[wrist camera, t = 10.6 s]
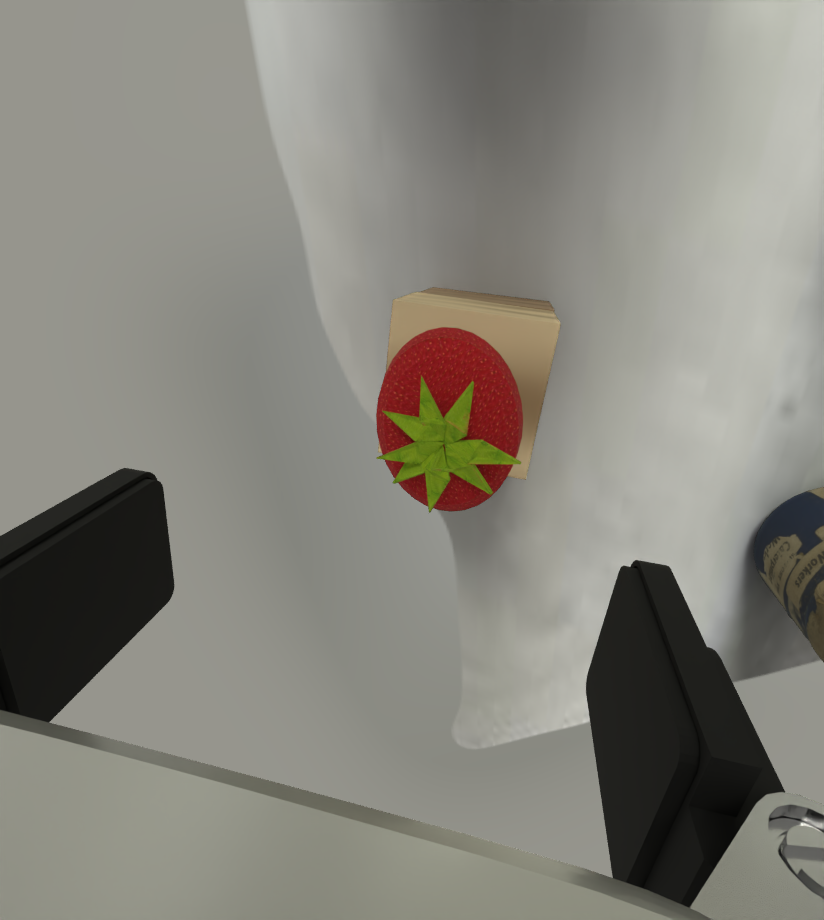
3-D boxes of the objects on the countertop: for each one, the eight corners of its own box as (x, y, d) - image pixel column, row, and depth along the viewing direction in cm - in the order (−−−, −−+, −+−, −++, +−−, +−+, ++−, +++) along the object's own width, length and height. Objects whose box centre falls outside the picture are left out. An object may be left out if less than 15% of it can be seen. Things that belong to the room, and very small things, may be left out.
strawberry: (521, 308, 24) (521, 339, 15) (524, 460, 26) (525, 566, 17) (397, 318, 25) (327, 352, 16) (412, 462, 28) (358, 562, 19)
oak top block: (416, 291, 30) (392, 300, 25) (553, 311, 29) (560, 323, 24) (401, 420, 33) (377, 452, 28) (524, 441, 32) (525, 479, 27)
